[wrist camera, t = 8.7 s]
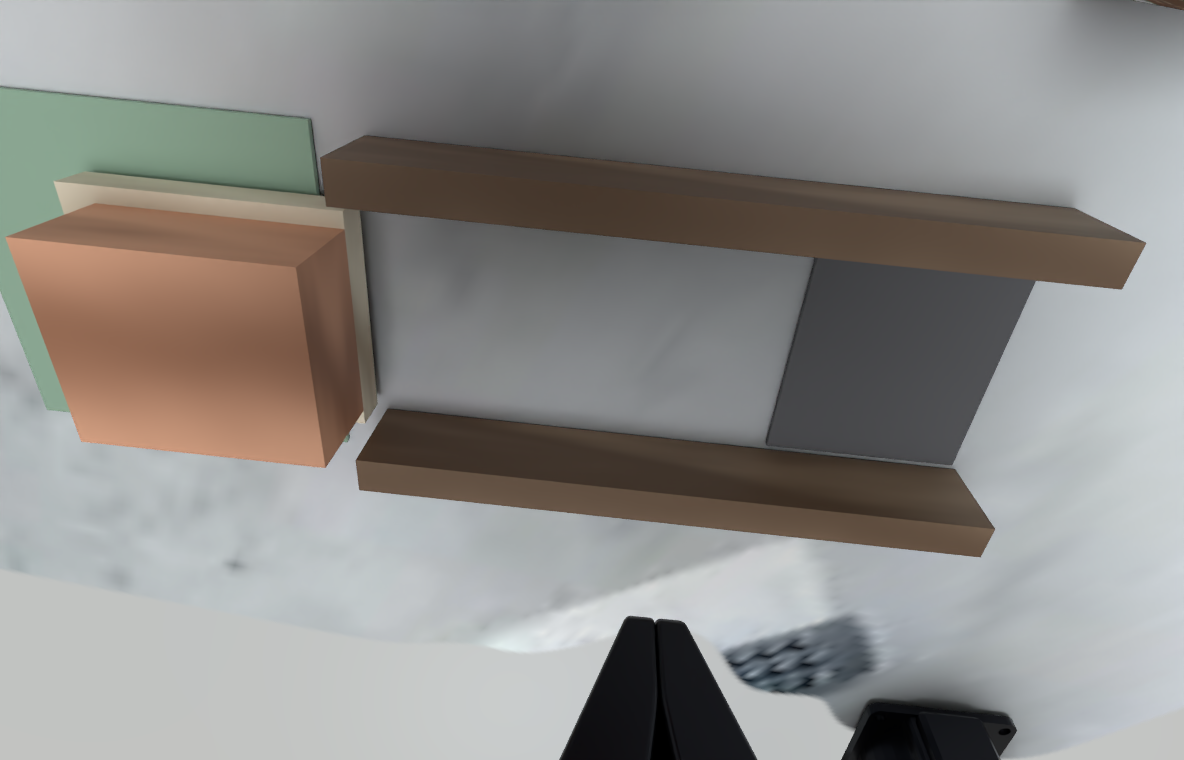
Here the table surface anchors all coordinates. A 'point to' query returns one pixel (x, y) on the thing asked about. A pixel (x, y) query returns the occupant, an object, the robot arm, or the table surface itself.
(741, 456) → the channel
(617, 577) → the table surface
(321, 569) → the table surface
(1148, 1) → the food container
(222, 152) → the pad
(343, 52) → the table surface
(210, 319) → the block
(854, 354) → the trap pit
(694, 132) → the table surface
